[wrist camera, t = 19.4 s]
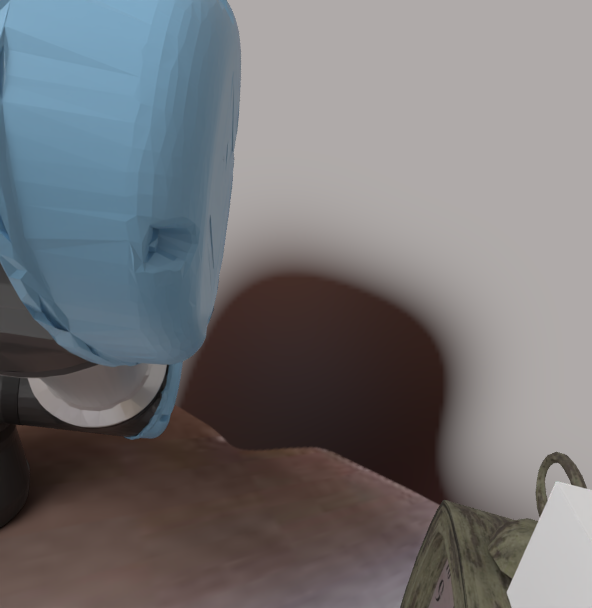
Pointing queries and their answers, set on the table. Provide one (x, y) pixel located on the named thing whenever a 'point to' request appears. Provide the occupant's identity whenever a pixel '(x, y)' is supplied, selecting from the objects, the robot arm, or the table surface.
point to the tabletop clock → (475, 552)
